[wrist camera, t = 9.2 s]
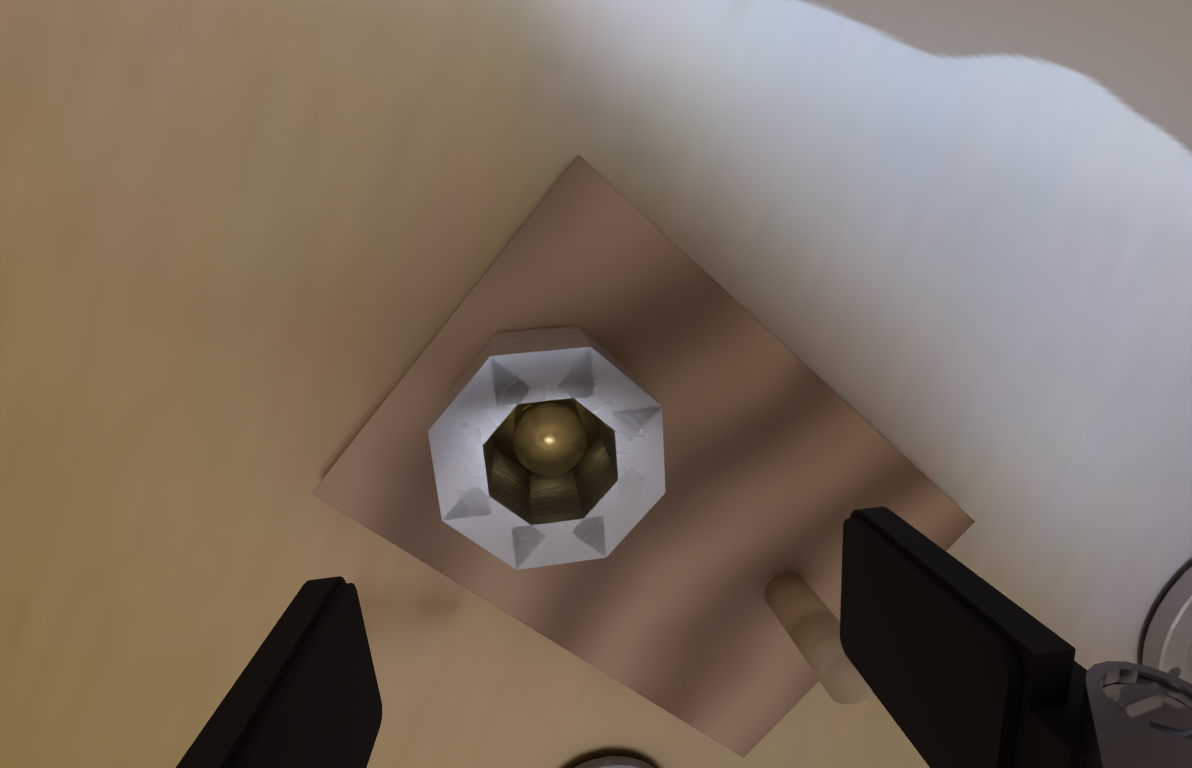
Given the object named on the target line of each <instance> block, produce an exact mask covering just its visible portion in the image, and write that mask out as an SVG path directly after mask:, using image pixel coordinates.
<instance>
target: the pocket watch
mask: <svg viewBox="0 0 1192 768" xmlns="http://www.w3.org/2000/svg"><path fill="white" fill-rule="evenodd" d="M574 768H654V767H652V766H651V765H649V764H648V763H646V762H644V761H640V760H637V759H634V758H631V757H628V756H606V757H601V758H597V759H592V760H589V761H587V762H584V763H582V764H580V765H578V766H576V767H574Z"/></svg>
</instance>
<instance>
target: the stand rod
mask: <svg viewBox="0 0 1192 768" xmlns="http://www.w3.org/2000/svg"><path fill="white" fill-rule="evenodd" d="M765 600H766V602H767V604H768V605H769V607H770V608H771V610H772V611H773V613H774V614H775V616H776V617H777V619H778V620H779V621H780V623H781V624H782V626H783V627H784V629H785V630H786V632H787V633H788V635H789V636H790V638H791V639H792V641H793V642H794V644H795V645H796V646H797V648H798V649H799V651H800V652H801V654H802V655H803V657H804V658H805V660H806V661H807V663H808V664H809V666H810V667H811V669H812V670H813V672H814V673H815V674H816V676H817V677H818V679H819V680H820V682H821V683H822V685H823V686H824V688H825V689H826V691H827V692H828V694H829V695H830V697H831V698H832V699H833V700H834V701H836V702H838V703H841V704H853V703H857V702H859V701H861V700H863V699H865V698H866V697H868V696H869V695H870V694H871V693H872V692H873V691H872V690H871V688H870V687H869V686H868V684H867V683H866V682H865V680H864V679H863V678H862V676H861V675H860V674H859V672H858V671H857V670H856V668H855V667H854V666H853V664H852V663H851V662H850V660H849V659H848V658H847V656H846V654H845V653H844V650H843V648H842V645H841V641H840V622H839V620H838V619H837V618H836V617H835V616H834V615H833V613H832V612H831V611H830V610H829V609H828V607H827V606H826V605H825V604H824V603H823V601H822V600H821V599H820V598H819V597H818V595H817V594H816V593H815V592H814V591H813V589H812V588H811V587H810V586H809V585H808V583H807V582H806V581H805V580H804V579H803V577H802V576H800V575H799V574H797V573H793V572H786V573H782V574H780V575H778V576H776V577H774V578H773V579H772V580H771V581H770V582H769V584H768V585H767V587H766V590H765Z"/></svg>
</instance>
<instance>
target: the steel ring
mask: <svg viewBox="0 0 1192 768" xmlns="http://www.w3.org/2000/svg"><path fill="white" fill-rule="evenodd" d="M569 398H574V399H576V400H577V401H578V402H579V403H581V404H582V405H583V406H585V407H586V408H587V409H588V410H590V411H591V412H592V413H593V414H595V415H596V416H597V417H598V418H599V427H600V437H599V438H598V440H597V441H596V442H595V443H594V444H593V445H592V446H591V447H590V449H589V450H588V451H587V452H586V453H585V454H584V455H583V457H582V458H581V459H580V460H579V462H578V463H577V464H576V465H575V466H574V467H573V468H571V469H570V470H568V471H566V472H564V473H561V474H557V475H541V474H537V473H528V472H527V471H525V470H524V469H523V468H521V467H520V466H519V465H517V464H516V463H514V462H513V461H512V460H510V459H509V458H508V457H506V456H505V455H503V454H502V453H501V452H499V451H498V450H497V449H495V445H494V437H493V432H494V431H495V430H496V429H497V428H498V427H499V425H500V424H501V423H502V422H503V421H504V420H505V418H506V417H507V416H508V415H509V414H510V412H511V411H512V410H513V409H514V408H515V407H516V405H517V404H521V403H531V402H540V401H550V400H559V399H569ZM428 436H429V442H430V448H431V455H432V461H433V467H434V474H435V480H436V486H437V492H438V499H439V505H440V511H441V518H442V521H443V522H445V523H446V524H448V525H449V526H451V527H452V528H454V529H455V530H457V531H458V532H460V533H461V534H463V535H464V536H466V537H467V538H469V539H471V540H472V541H474V542H475V543H477V544H478V545H480V546H481V547H483V548H484V549H486V550H487V551H489V552H490V553H492V554H493V555H495V556H496V557H498V558H499V559H501V560H502V561H504V562H505V563H507V564H508V565H510V566H511V567H513V568H514V569H516V570H520V569H527V568H534V567H542V566H549V565H556V564H564V563H571V562H578V561H585V560H593V559H600V558H606V557H607V556H608V555H609V554H610V553H611V552H612V551H613V550H614V549H615V547H616V546H617V545H618V544H619V543H620V542H621V541H622V540H623V539H624V538H625V536H626V535H627V534H628V533H629V532H630V531H631V530H632V529H633V528H634V527H635V525H636V524H637V523H638V522H639V521H640V520H641V519H642V518H643V517H644V516H645V514H646V513H647V512H648V511H649V510H650V509H651V508H652V507H653V506H654V505H655V503H656V502H657V501H658V500H659V499H660V498H661V497H662V496H663V495H664V494H665V469H664V443H663V417H662V405H661V404H660V403H659V402H658V401H657V400H656V398H655V397H654V396H653V395H652V394H651V393H650V391H649V390H648V389H647V388H646V387H645V385H644V384H643V383H642V382H641V381H640V380H639V378H638V377H637V376H636V375H635V374H634V373H633V372H631V371H630V370H629V369H628V368H627V367H625V366H624V365H623V364H622V363H621V362H620V361H618V360H617V359H616V358H615V357H614V356H612V355H611V354H610V353H609V352H608V351H606V350H605V349H604V348H603V347H602V346H601V345H599V344H598V343H597V342H596V341H595V340H593V339H592V338H591V337H590V336H589V335H587V334H586V333H585V332H584V331H583V330H582V329H580V328H579V327H578V326H570V327H559V328H548V329H537V330H526V331H515V332H503V333H496V334H495V335H494V336H493V338H492V339H491V340H490V341H489V342H488V344H487V345H486V346H485V347H484V349H483V350H482V351H481V352H480V353H479V355H478V356H477V357H476V358H475V359H474V361H473V362H472V363H471V364H470V365H469V367H468V368H467V369H466V370H465V371H464V373H463V374H462V375H461V376H460V377H459V379H458V380H457V381H456V382H455V384H454V385H453V386H452V387H451V388H450V390H449V391H448V392H447V393H446V394H445V397H444V399H443V401H442V403H441V405H440V407H439V409H438V411H437V413H436V415H435V417H434V419H433V422H432V424H431V426H430V428H429V430H428Z"/></svg>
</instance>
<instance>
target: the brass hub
mask: <svg viewBox="0 0 1192 768" xmlns="http://www.w3.org/2000/svg"><path fill="white" fill-rule="evenodd" d="M537 329H548V328H534V329H528V330H537ZM523 331H526V330H523ZM493 437H494V445H495V449H497V450H498V451H499V452H501V453H502V454H503V455H505V456H506V457H508V458H509V459H510V460H512V461H513V462H514V463H516V464H517V465H519V466H520V467H521V468H523V469H524V470H525V471H527V472H528V473H537V474H541V475H557V474H561V473H564V472H566V471H568V470H570V469H571V468H573V467H574V466H575V465H576V464H577V463H578V462H579V460H580V459H581V458H582V457H583V455H584V454H585V453H586V452H587V451H588V450H589V449H590V447H591V446H592V445H593V444H594V443H595V442H596V441H597V440H598V438H599V437H600V427H599V418H598V417H597V416H596V415H595V414H593V413H592V412H591V411H590V410H588V409H587V408H586V407H585V406H583V405H582V404H581V403H579V402H578V401H577V400H576V399H574V398H569V399H559V400H550V401H540V402H531V403H521V404H517V405H516V407H515V408H514V409H513V410H512V411H511V412H510V414H509V415H508V416H507V417H506V418H505V420H504V421H503V422H502V423H501V424H500V425H499V427H498V428H497V429H496V430H495V431H494V432H493Z"/></svg>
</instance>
